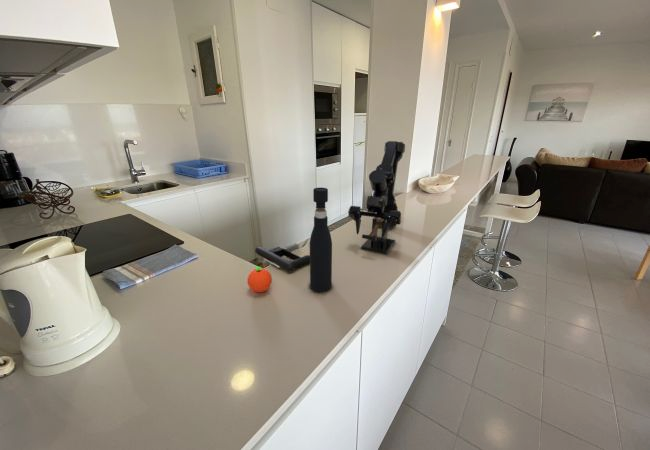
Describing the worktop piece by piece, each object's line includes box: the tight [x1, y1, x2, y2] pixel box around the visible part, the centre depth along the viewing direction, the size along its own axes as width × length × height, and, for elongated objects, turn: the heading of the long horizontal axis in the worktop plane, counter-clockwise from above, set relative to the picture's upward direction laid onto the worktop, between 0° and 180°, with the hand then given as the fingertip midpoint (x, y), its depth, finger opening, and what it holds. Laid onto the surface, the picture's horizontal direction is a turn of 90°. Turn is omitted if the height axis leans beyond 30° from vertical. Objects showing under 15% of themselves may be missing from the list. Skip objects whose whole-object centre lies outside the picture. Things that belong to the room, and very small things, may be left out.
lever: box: [361, 218, 384, 241], centre depth 102 cm, size 14×5×2 cm, turn 151°
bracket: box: [360, 217, 396, 255], centre depth 108 cm, size 12×10×12 cm
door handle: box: [254, 243, 310, 273], centre depth 100 cm, size 3×20×16 cm
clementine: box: [247, 266, 273, 293], centre depth 81 cm, size 8×7×7 cm
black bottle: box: [309, 187, 333, 293], centre depth 78 cm, size 6×6×30 cm
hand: (369, 235), depth 98 cm, fingers open, 9 cm apart
